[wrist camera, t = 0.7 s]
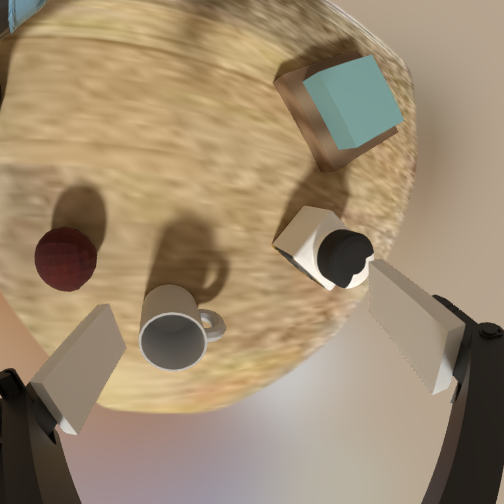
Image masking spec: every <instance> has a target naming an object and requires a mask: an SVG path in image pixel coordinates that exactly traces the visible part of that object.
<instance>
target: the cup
mask: <svg viewBox="0 0 504 504" xmlns="http://www.w3.org/2000/svg"><path fill="white" fill-rule="evenodd" d="M202 321H204V322H208V323H209V324H211V326H212V327H210V328H204V326H203V323H202ZM225 330H226V326H225V323H224V321H223V319H222V317H221V316H220V315H219V314H217V313H216V312H213V311H210V310H205V309H198V308H197V305H196V302H195V300H194V298H193V296H192V295H191V294H190V293H189V292H188V291H187V290H186V289H184V288H183V287H180V286H178V285H172V284H166V285H161V286H158V287H156V288H154V289H153V290H151V291H150V292H149V293H148V295H147V296H146V297H145V300H144V302H143V305H142V313H141V322H140V331H139V348H140V351H141V353H142V355H143V357H144V358H145V359H146V360H147V361H148V362H149V363H150V364H151V365H153V366H155V367H156V368H158V369H161V370H165V371H173V372H175V371H183V370H185V369H188V368H191V367H192V366H194V365H195V364H197V363H198V362H199V361H200V360H201V359H202V358H203V356H204V354H205V352H206V349H207V343H208V342H212V341H217V340H218V339H220V338H222V336H223V334H224V332H225Z"/></svg>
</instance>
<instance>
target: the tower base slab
mask: <svg viewBox="0 0 504 504" xmlns="http://www.w3.org/2000/svg"><path fill="white" fill-rule="evenodd" d="M359 58H361V56H360V54H359V52H358V51H357V50H355V51H351V52H348V53H344V54H341V55H338V56H334V57H331V58H328V59H325V60H322V61H319V62H316V63H313V64H310V65H307V66H305V67H302V68H299V69H296V70H294V71H291V72H288V73H286V74H283V75H282V76H280V77H279V78H278V79H277V80H276V81H274V82H273V84H274V86H275V87H276V89H277V91H278V92H279V94H280V96H281V97H282V99H283V101H284V103H285V104H286V106H287V108H288V110H289V111H290V113H291V115H292V117H293V118H294V120H295V122H296V124H297V126H298V128H299V129H300V131H301V133H302V135H303V137H304V139H305V141H306V142H307V144H308V146H309V148H310V150H311V152H312V154H313V156H314V158H315V160H316V162H317V164H318V166H319V168H320V170H321V172H332V171H336V170H338V169H339V168H341V167H343V166H344V165H346V164H347V163H349V162H351V161H352V160H354V159H355V158H357V157H359V156H360V155H362V154H363V153H365V152H367V151H368V150H370V149H372V148H373V147H375V146H376V145H378V144H380V143H381V142H383V141H385V140H386V139H388V138H390V137H391V136H393V135H395V134H396V133H398V131H397V128H396V126H393V127H392V128H390V129H388V130H386V131H385V132H383V133H381V134H379V135H378V136H376V137H374V138H373V139H371V140H369V141H367V142H366V143H364V144H362V145H361V146H359V147H357V148H350V149H342V150H338V148H337V145H336V143H335V141H334V139H333V137H332V135H331V133H330V131H329V130H328V128H327V126H326V124H325V122H324V120H323V118H322V116H321V114H320V112H319V111H318V109H317V107H316V105H315V103H314V101H313V100H312V98H311V96H310V94H309V92H308V91H307V89H306V87H305V85H304V84H303V81H305V80H306V79H308V78H309V77H311V76H312V75H314V74H316V73H317V72H320V71H323V70H325V69H328V68H331V67H334V66H337V65H340V64H343V63H346V62H349V61H352V60H356V59H359Z"/></svg>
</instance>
